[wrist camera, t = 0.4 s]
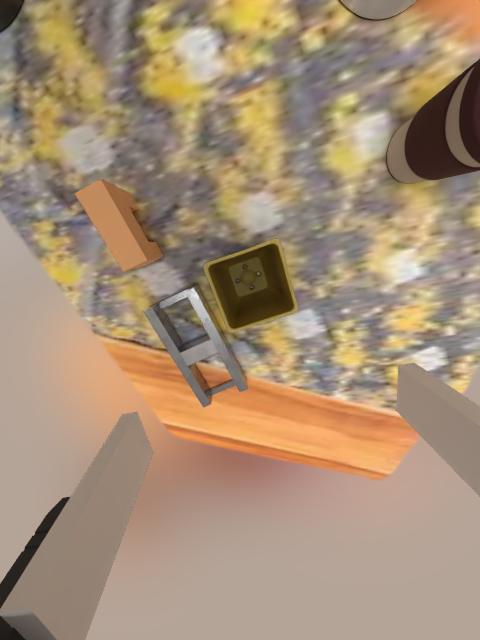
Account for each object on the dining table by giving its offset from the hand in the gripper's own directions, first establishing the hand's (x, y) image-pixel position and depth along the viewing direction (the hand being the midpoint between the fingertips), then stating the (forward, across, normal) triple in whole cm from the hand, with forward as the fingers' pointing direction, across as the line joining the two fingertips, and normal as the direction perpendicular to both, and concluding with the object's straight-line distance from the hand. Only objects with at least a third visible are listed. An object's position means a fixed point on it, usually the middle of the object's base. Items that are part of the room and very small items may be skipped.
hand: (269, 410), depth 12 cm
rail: (+25, -8, -6) cm, 27 cm away
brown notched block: (+25, -13, +12) cm, 31 cm away
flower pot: (+26, +1, +3) cm, 26 cm away
